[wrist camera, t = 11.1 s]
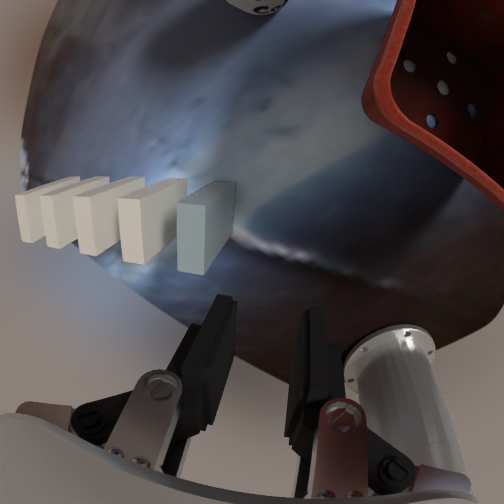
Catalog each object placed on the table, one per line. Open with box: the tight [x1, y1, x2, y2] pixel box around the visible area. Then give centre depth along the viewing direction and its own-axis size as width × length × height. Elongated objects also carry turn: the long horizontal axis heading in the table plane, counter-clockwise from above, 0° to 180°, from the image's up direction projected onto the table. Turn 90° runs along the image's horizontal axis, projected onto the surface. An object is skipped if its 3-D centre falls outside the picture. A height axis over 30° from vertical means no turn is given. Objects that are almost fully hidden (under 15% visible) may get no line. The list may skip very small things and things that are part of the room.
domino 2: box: [40, 176, 110, 249], centre depth 24 cm, size 5×2×9 cm, turn 175°
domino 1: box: [15, 177, 80, 243], centre depth 25 cm, size 5×2×9 cm, turn 176°
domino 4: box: [117, 178, 187, 265], centre depth 23 cm, size 5×2×9 cm, turn 175°
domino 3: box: [73, 177, 145, 256], centre depth 24 cm, size 5×2×9 cm, turn 176°
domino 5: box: [177, 181, 236, 275], centre depth 23 cm, size 5×2×9 cm, turn 175°
